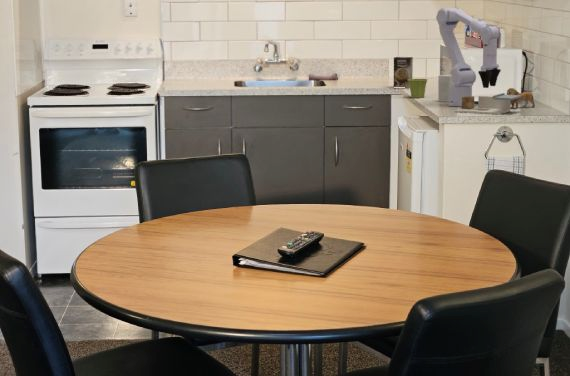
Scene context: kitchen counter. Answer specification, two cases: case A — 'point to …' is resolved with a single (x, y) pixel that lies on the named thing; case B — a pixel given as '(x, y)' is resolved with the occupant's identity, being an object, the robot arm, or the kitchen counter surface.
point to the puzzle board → (489, 106)
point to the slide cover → (506, 97)
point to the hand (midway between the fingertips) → (489, 86)
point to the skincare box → (444, 87)
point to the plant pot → (417, 87)
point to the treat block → (468, 102)
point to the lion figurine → (524, 96)
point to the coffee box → (403, 71)
